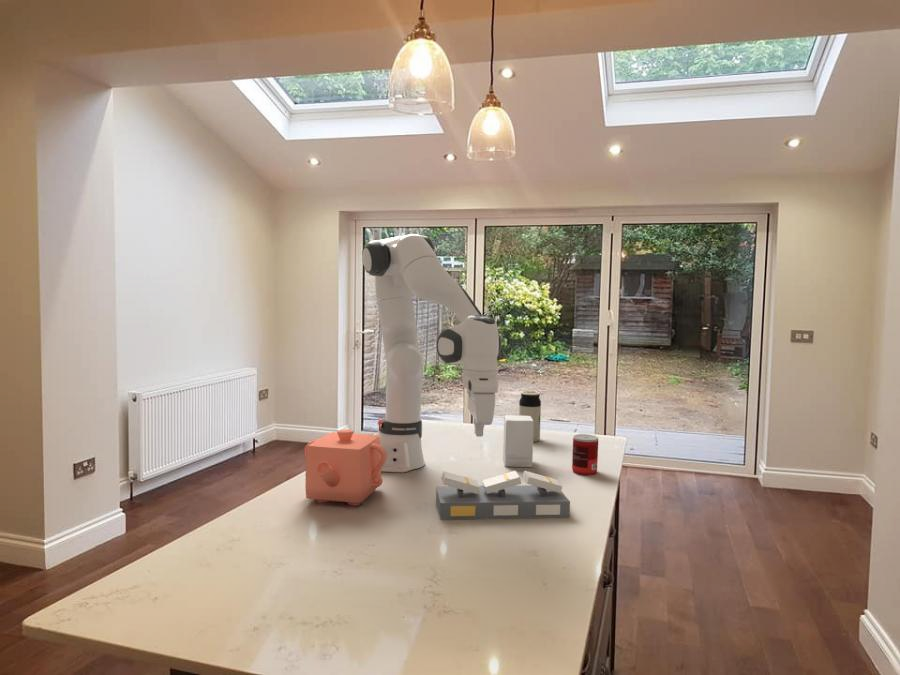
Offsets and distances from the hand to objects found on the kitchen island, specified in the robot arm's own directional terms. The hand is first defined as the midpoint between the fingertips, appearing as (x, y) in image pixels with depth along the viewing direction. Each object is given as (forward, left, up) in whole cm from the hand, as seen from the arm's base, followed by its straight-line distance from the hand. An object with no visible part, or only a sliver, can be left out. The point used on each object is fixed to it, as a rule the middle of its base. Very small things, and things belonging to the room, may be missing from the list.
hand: (478, 435), depth 158 cm
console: (+6, 0, -19) cm, 20 cm away
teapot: (-35, +8, -19) cm, 41 cm away
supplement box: (+19, +42, -19) cm, 50 cm away
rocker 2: (+6, 0, -12) cm, 13 cm away
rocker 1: (-4, 0, -12) cm, 13 cm away
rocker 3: (+17, 0, -12) cm, 20 cm away
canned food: (+38, +32, -19) cm, 53 cm away
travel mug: (+30, +74, -19) cm, 82 cm away
